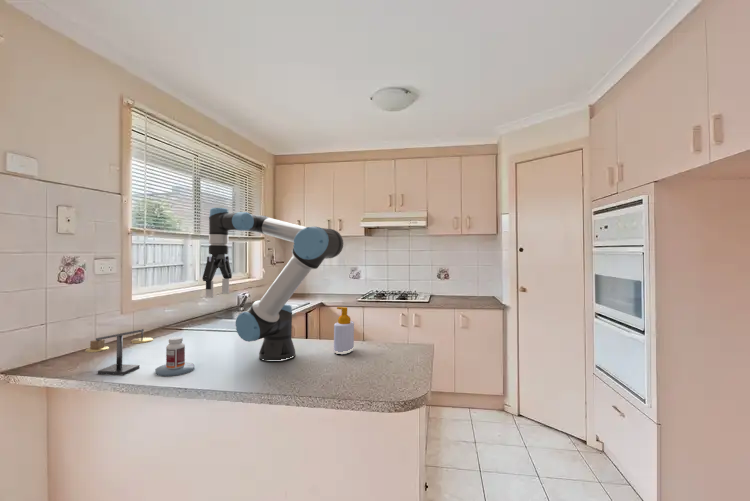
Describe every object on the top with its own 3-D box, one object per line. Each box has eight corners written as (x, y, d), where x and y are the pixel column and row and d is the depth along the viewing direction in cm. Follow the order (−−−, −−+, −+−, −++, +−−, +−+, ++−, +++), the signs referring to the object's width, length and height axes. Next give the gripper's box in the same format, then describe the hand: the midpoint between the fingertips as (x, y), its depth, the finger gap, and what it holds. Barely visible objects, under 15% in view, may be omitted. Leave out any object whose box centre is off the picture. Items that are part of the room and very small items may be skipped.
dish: (201, 365, 146) (201, 362, 146) (181, 377, 133) (181, 373, 133) (169, 364, 147) (169, 361, 147) (147, 375, 134) (147, 372, 134)
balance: (157, 368, 142) (158, 327, 142) (142, 375, 134) (143, 331, 134) (97, 366, 143) (97, 325, 143) (79, 373, 135) (79, 329, 135)
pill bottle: (183, 363, 144) (184, 335, 144) (185, 368, 139) (186, 338, 139) (165, 366, 141) (165, 337, 141) (166, 370, 136) (167, 340, 136)
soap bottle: (341, 347, 177) (341, 305, 177) (357, 349, 175) (357, 306, 175) (329, 354, 165) (330, 309, 165) (346, 356, 162) (347, 310, 162)
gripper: (224, 245, 168) (223, 292, 168) (193, 244, 143) (192, 298, 143) (240, 245, 168) (239, 292, 168) (211, 244, 143) (211, 299, 143)
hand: (217, 295), depth 155 cm, fingers open, 13 cm apart
